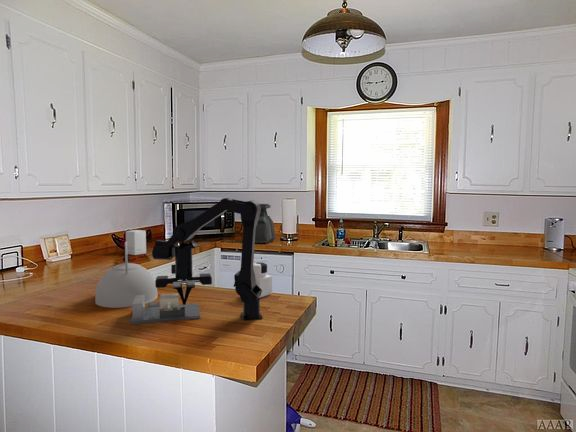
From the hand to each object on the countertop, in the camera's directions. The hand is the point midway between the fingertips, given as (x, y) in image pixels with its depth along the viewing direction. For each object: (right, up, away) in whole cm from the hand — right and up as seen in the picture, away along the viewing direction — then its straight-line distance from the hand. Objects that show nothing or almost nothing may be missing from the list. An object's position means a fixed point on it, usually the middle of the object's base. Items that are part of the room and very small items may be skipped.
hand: (184, 304), depth 136 cm
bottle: (+16, +10, +167) cm, 168 cm away
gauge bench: (-6, -3, -1) cm, 7 cm away
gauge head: (-6, -2, -4) cm, 7 cm away
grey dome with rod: (-27, -2, +18) cm, 33 cm away
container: (+24, -2, +24) cm, 34 cm away
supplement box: (-61, +6, +114) cm, 130 cm away
